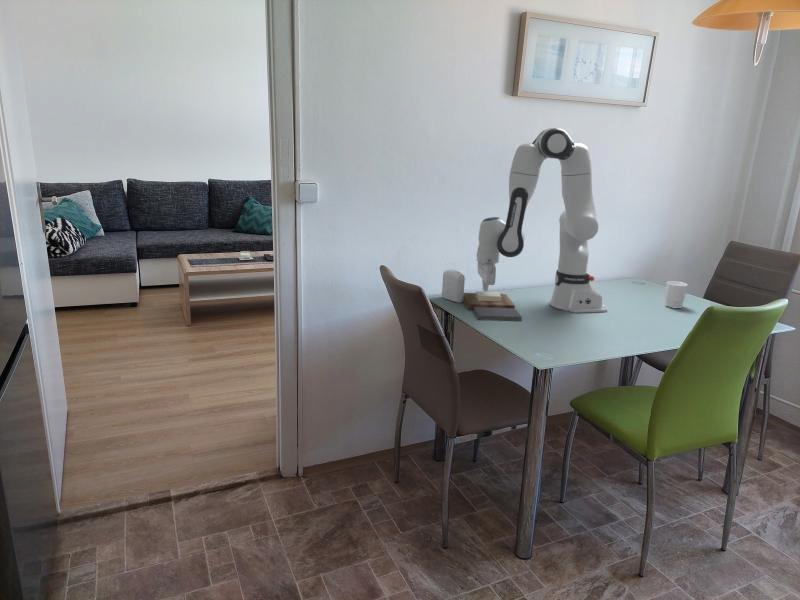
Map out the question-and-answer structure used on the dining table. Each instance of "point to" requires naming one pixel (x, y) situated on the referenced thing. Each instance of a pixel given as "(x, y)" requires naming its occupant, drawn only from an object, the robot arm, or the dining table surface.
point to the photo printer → (453, 285)
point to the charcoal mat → (497, 313)
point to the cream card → (488, 296)
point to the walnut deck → (487, 302)
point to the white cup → (675, 293)
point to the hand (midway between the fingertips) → (485, 290)
